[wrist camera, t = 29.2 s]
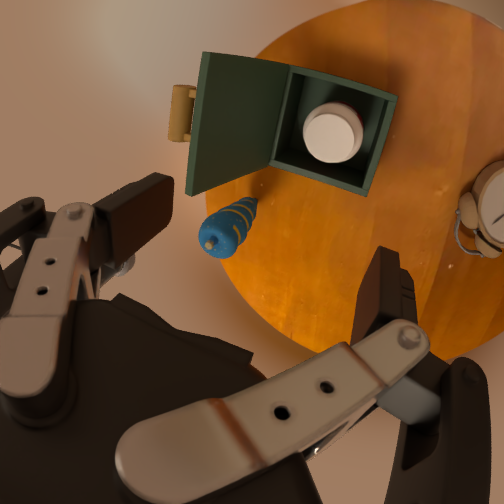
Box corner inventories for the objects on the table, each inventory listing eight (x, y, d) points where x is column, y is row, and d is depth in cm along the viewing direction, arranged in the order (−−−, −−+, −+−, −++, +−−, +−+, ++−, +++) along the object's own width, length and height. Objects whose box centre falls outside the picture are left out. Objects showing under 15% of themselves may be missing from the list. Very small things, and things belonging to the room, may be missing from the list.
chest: (392, 93, 32) (398, 96, 26) (367, 177, 39) (366, 197, 33) (301, 67, 34) (286, 64, 28) (283, 150, 41) (265, 164, 35)
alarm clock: (554, 216, 27) (482, 283, 34) (536, 206, 32) (470, 267, 38) (523, 146, 26) (445, 219, 32) (505, 142, 30) (433, 208, 37)
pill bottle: (349, 156, 38) (341, 183, 29) (306, 132, 38) (285, 150, 29) (372, 116, 34) (374, 128, 25) (328, 90, 34) (314, 93, 25)
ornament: (268, 220, 47) (227, 276, 35) (236, 211, 48) (186, 263, 36) (273, 187, 44) (231, 235, 32) (239, 179, 45) (186, 223, 33)
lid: (210, 52, 19) (158, 48, 21) (191, 197, 25) (147, 176, 27) (289, 64, 28) (243, 56, 30) (267, 166, 34) (227, 151, 36)
